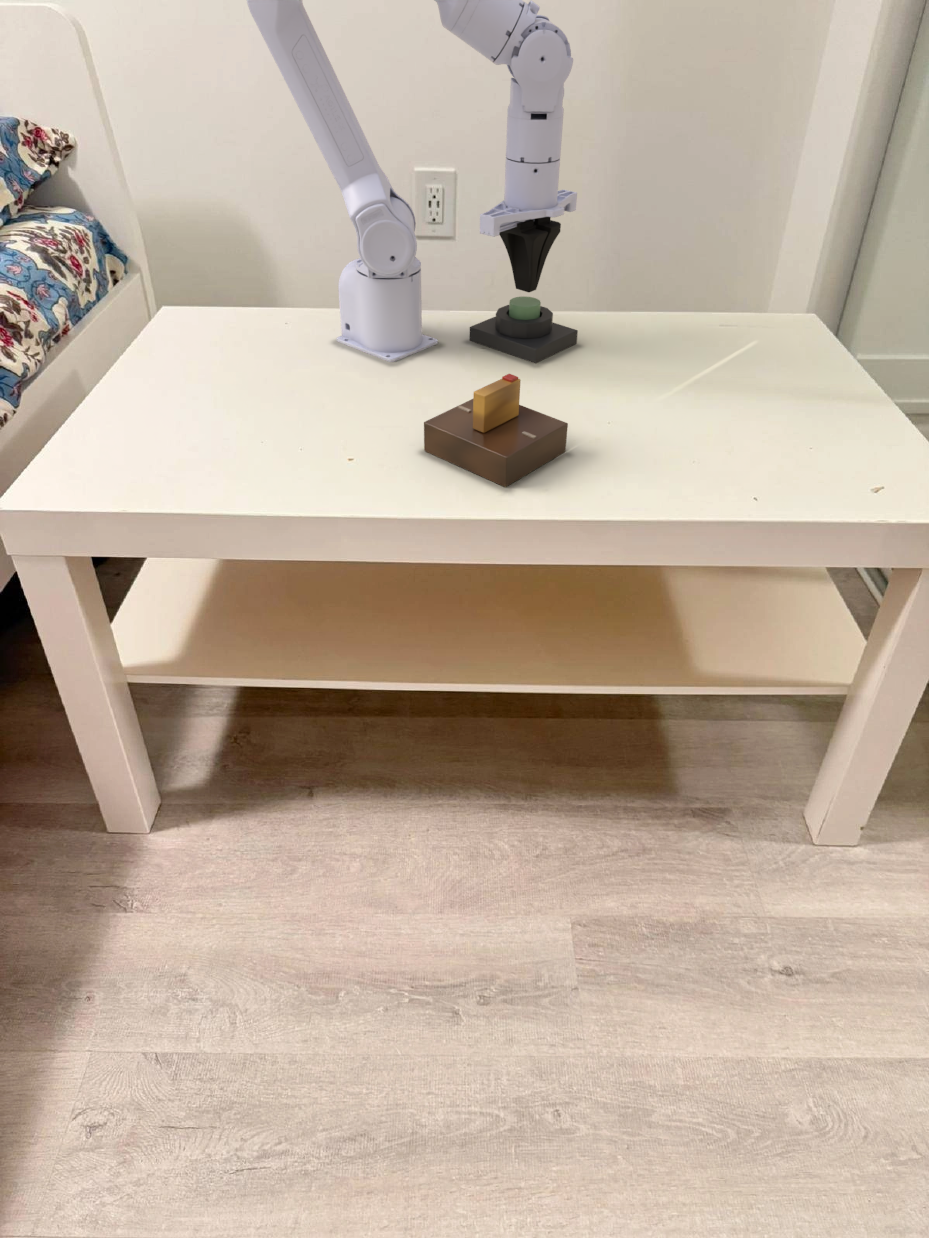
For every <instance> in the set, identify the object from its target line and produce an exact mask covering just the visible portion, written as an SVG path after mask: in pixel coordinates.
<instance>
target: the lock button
mask: <svg viewBox="0 0 929 1238" xmlns="http://www.w3.org/2000/svg"><path fill="white" fill-rule="evenodd" d="M508 302H509V304H508V305H509V317H512V318H515V319H520V320H531V319H537V318H539V317H540V306H542V305H541V304H542V302H541V300H540V299H538V298H536V297H534V296H533V297H532V296H524V295H523V296H515V297H512V298H511V299H510V300H509V301H508Z"/></svg>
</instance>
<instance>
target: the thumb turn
mask: <svg viewBox="0 0 929 1238" xmlns="http://www.w3.org/2000/svg"><path fill="white" fill-rule="evenodd" d="M472 395H473V396H472V397H473V398H472V399H473V429H476V430H478V431H480V432H483V433H485V432H487V431H489V430H491V429H493V428H495V427H497V426H499V425H501V424H503V423H505V422H507V421H508V420H510V419H512V418H514V417H516V416H518V415H519V405H520V397H521V396H520V395H521V378H519V376H517V375H514V374H512V373H508V374H507V373H506V374H505V375H503V376H502V377H501V378H500V379H498V380H496V381H493V382H492V383H489V384H487V385H485V386H483V387H481V388H479V389H477V390H474V391H473V394H472Z"/></svg>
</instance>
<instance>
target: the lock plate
mask: <svg viewBox="0 0 929 1238" xmlns="http://www.w3.org/2000/svg"><path fill="white" fill-rule="evenodd" d="M568 427H569V423H568V422H566V421H563V420H560V419H558V418H555V417H552V416H550V415H547V414H545V413H542V412H539V411H537V410H534V409H532V408H529V407H526V406H524V405H521V404H519V415H518V416H516V417H514V418H512V419H510V420H508V421H507V422H505V423H503V424H501V425H499V426H497V427H495V428H493V429H491V430H489V431H487V432H485V433H483V432H480V431H478V430H476V429H473V398H471V399H469V400H467V401H465V402H463V403H460V404H458V405H456V406H454V407H452V408H450V409H448V410H446V411H444V412H442V413H440V414H437V415H435V416H434V417H432V418H429V419H428V420H426V421H424V422H423V447H424V448H423V450H424V452H426V453H428V454H431V455H432V456H435V457H437V458H439V459H442V460H444V461H446V462H448V463H450V464H453V465H455V466H457V467H459V468H461V469H464V470H466V471H468V472H471V473H473V474H474V475H475V474H476V475H477V476H479V477H482V478H484V479H486V480H489V481H491V482H493V483H495V484H498V485H500V486H501V487H504V488H506V487H508V486H510V485H511V484H514V483H516V482H517V481H518V480H520V479H522V478H524V477H525V476H527V475H528V474H530V473H532V472H534V471H535V470H537V469H539V468H541V467H542V466H544V465H545V464H548V463H549V462H550V461H552V460H554V459H556V458H557V457H559V456H561V455H562V454H564V453H566V451H567V450H566V449H567V437H568Z"/></svg>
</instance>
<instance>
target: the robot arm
mask: <svg viewBox="0 0 929 1238" xmlns="http://www.w3.org/2000/svg"><path fill="white" fill-rule="evenodd" d="M433 1H434V2H435V3H436V5H437V7H438V12H439V18H440V22H441V26H442V27H443V29H446V30H447V31H448V32H450V33H451V34H453V35H454V36H455V37H457V38H458V39H460V40H461V41H463V42H464V43H465V44H466V45H468V46H469V47H471V48H472V49H474V50H475V51H477V52H478V53H479V54H481V56H483V57H485V58H486V59H487V60H489V61H490V62H492V63H493V64H494V65H496V66H501V65H506V68H507V69H508V72H509V73H510V75H511V76H512V77H511V78H510V86H509V87H510V89H509V90H510V91H509V104H508V106H507V113H506V114H507V117H506V139H505V140H506V141H505V164H504V165H505V166H504V167H505V169H504V194H503V195H504V199H503V200H502V201H501V202H499V203H498V204H496V205H495V206H493V207H492V208H491V209H489V210H488V211H484V212H482V213H480V214H479V234H481V235H484V236H488V237H492V238H495V237H499V236H500V239H501V240H502V243H503V244H504V247H505V249H506V252H507V255H508V258H509V262H510V266H511V270H512V275H513V281H514V286H515V289H516V290H519V291H522V292H525V293H532V292H534V291H537V288H538V285H539V282H540V279H541V275H542V272H543V269H544V266H545V264H546V263H545V262H546V260H547V257H548V255H549V252H550V251H551V248H552V246H553V244H554V242H555V241H556V239H557V238H558V236H559V235H560V233H561V227H562V224H561V222H559V221H556V220H551V219H552V218H558V217H561V216H564V214H565V212H567V213H571V212H576V210H577V202H578V201H577V199H578V192H577V191H573V190H569V189H560V190H559V184H560V183H559V182H560V166H561V155H562V154H561V153H562V140H563V125H564V114H565V113H564V111H565V110H564V106H563V104H564V97H565V82H566V81H567V80H568V78H569V76H570V74H571V71H572V68H573V65H574V58H573V57H572V50H571V45H570V42H569V40H568V37H567V35H566V34H565V33H564V31H563V30H562V29H561V28H560V27H559V26H557V25H556V24H555V23H553V22H552V21H550V19H549V17H548V16H545V15H542V14H539V11H540V8H541V7H540V6H539V5H538V4H537V3H536V2H534V1H533V0H529V1H528V3H527V2H525V1H524V0H433ZM246 4H247V7H248V10H249V13H250V15H251V17H252V19H253V21H254V23H255V25H256V26H257V29H258V31H259V32H260V35H261V36H262V39H263V41H264V42H265V44H266V46H267V48H268V50H269V52H270V54H271V57H272V58H273V60H274V62H275V64H276V66H277V68H278V70H279V72H280V74H281V76H282V78H283V80H284V82H285V84H286V86H287V88H288V89H289V92H290V93H291V96H292V97H293V99H294V101H295V103H296V105H297V108H298V109H299V111H300V113H301V116H302V117H303V119H304V121H305V123H306V125H307V127H308V130H309V131H310V133H311V135H312V137H313V139H314V141H315V143H316V144H317V146H318V148H319V150H320V152H321V154H322V156H323V158H324V161H325V163H326V165H327V166H328V168H329V170H330V172H331V174H332V176H333V178H334V180H335V182H336V184H337V186H338V189H339V190H340V192H341V195H342V199H343V200H344V205H345V207H346V211H347V214H348V217H349V220H350V222H351V223H352V225H353V228H354V230H355V234H356V248H357V253H358V257H359V258H355V259H353V260H350V261H349V262H348V263H347V264H346V265H345V266H344V268H343V269H342V271H341V273H340V275H339V280H338V284H337V285H338V286H337V287H338V288H337V289H338V290H337V291H338V303H339V316H340V329H341V335H340V336H337V337H336V342H337V343H339V344H342V345H344V346H348V347H350V348H351V349H355V350H357V351H360V352H363V353H366V354H368V355H370V356H373V357H375V358H378V359H380V360H383V361H386V362H388V363H394V362H397V361H399V360H403V359H404V358H407V357H410V356H412V355H414V354H417V353H419V352H421V351H424V350H426V349H429V348H432V347H434V346H436V345H438V344H439V340H438V339H437V338H434V337H431V336H429V335H426V334H423V306H422V305H423V303H422V264H421V263H422V262H421V260H420V259H419V258H417V257H416V255H417V250H418V241H417V237H416V224H417V223H416V216H415V213H414V211H413V208H412V206H411V205H410V203H408V202H407V201H406V200H405V199H404V198H403V197H401V196H400V195H399V194H398V193H397V192H396V191H395V190H394V187H393V185H392V184H391V182H390V179H389V178H388V176H387V175H386V173H385V172H384V170H383V169H382V167H381V166H380V164H379V162H378V159H377V158H376V156H375V154H374V151H373V150H372V147H371V145H370V143H369V141H368V138H367V136H366V135H365V133H364V130H363V128H362V126H361V124H360V123H359V120H358V118H357V116H356V114H355V112H354V109H353V108H352V105H351V103H350V101H349V99H348V96H347V94H346V92H345V91H344V89H343V86H342V84H341V82H340V80H339V77H338V76H337V74H336V71H335V69H334V67H333V65H332V63H331V61H330V58H329V57H328V54H327V53H326V50H325V49H324V47H323V45H322V41H321V39H320V38H319V36H318V33H317V31H316V29H315V27H314V24H313V23H312V20H311V19H310V17H309V14H308V12H307V11H306V8H305V7H304V3H303V0H246Z"/></svg>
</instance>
